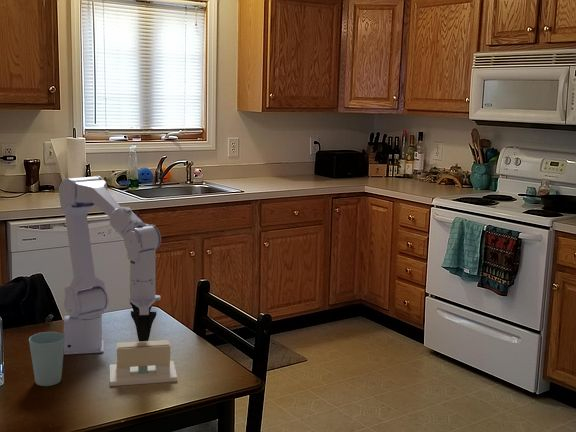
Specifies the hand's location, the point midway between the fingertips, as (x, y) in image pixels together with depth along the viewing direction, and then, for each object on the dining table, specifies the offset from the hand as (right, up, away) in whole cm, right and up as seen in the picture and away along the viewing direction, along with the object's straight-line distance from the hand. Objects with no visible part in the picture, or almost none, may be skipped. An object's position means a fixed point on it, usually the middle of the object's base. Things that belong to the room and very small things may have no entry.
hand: (142, 335), depth 159 cm
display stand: (0, -10, +2) cm, 10 cm away
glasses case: (0, -7, +1) cm, 7 cm away
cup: (-21, -10, -3) cm, 23 cm away
